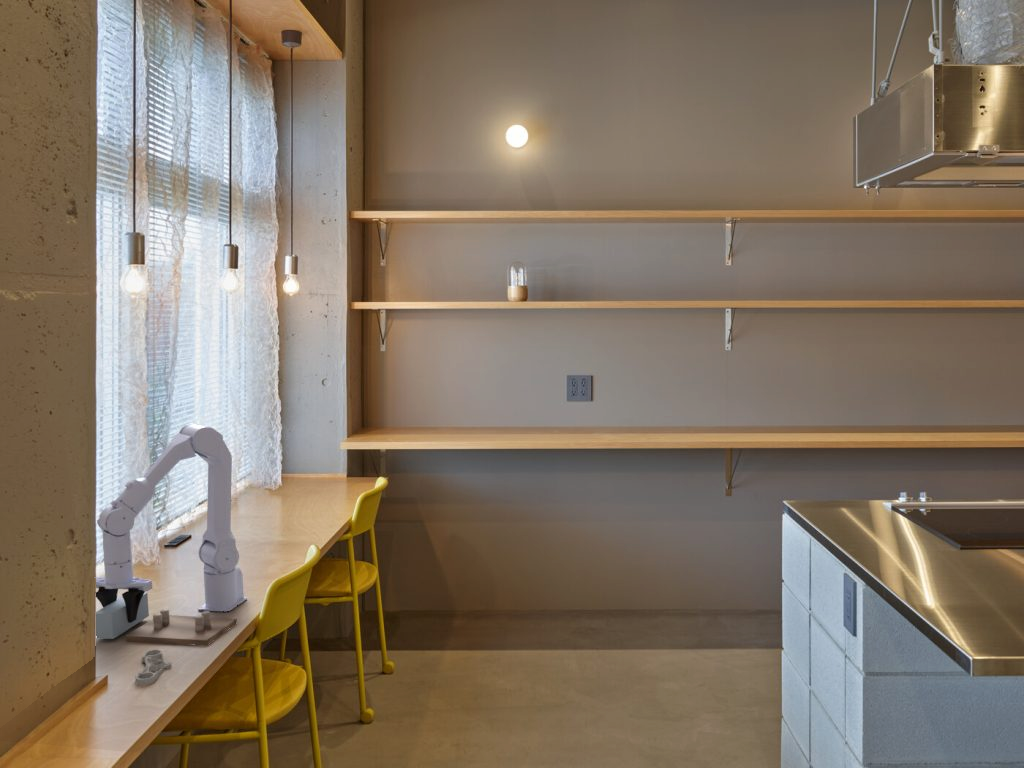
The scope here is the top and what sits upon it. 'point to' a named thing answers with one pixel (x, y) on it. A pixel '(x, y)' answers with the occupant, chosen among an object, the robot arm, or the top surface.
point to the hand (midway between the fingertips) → (122, 620)
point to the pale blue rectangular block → (118, 618)
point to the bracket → (152, 667)
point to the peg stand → (181, 629)
